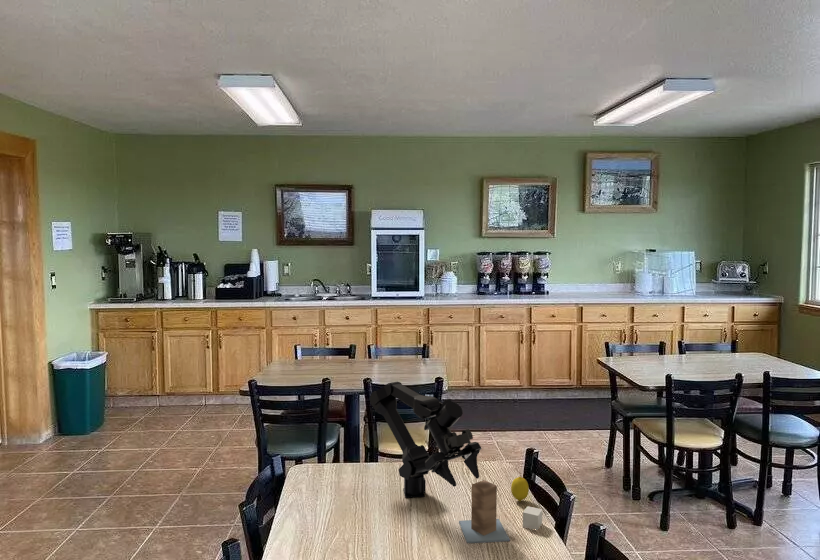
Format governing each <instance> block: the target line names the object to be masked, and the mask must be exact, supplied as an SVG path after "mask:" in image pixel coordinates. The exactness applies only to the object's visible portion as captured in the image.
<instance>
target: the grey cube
mask: <svg viewBox="0 0 820 560" xmlns="http://www.w3.org/2000/svg"><path fill="white" fill-rule="evenodd" d="M541 524H542V525H543V509H542V508H538V507H532V506H529V505H527V506H526V508H525V509H524V510H523V511H522V528H525V529H528V528H529V530H532V529H536V530H538V529H539V530H540V528H541V527H542V525H541ZM540 526H541V527H540ZM539 527H540V528H539ZM536 530H535V531H536ZM539 530H538V531H539Z"/></svg>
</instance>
